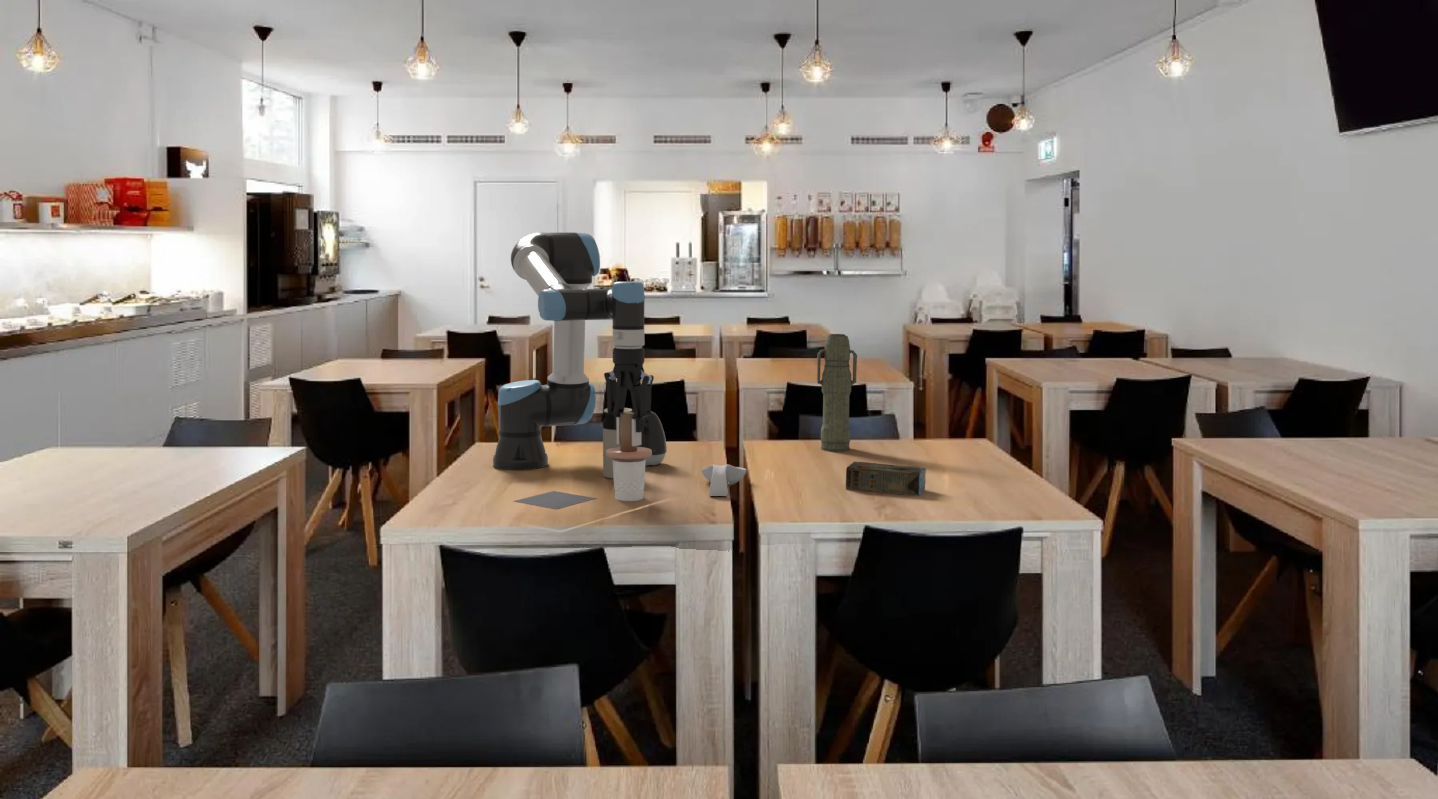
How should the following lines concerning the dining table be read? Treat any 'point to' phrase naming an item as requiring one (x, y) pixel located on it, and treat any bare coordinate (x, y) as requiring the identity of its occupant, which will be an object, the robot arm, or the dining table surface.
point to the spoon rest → (722, 478)
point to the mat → (555, 500)
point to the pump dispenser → (653, 439)
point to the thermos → (836, 392)
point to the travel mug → (609, 442)
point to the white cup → (629, 479)
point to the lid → (627, 441)
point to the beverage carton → (885, 478)
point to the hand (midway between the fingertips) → (628, 444)
